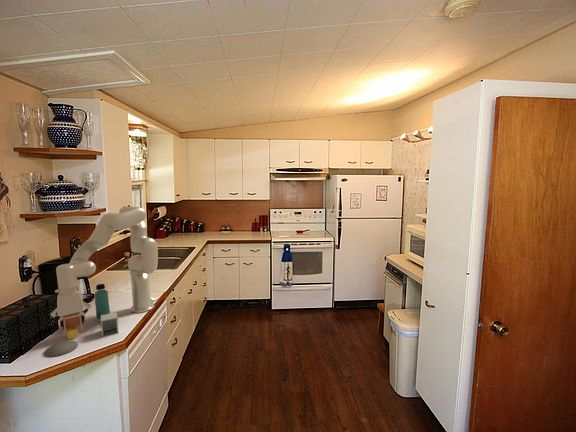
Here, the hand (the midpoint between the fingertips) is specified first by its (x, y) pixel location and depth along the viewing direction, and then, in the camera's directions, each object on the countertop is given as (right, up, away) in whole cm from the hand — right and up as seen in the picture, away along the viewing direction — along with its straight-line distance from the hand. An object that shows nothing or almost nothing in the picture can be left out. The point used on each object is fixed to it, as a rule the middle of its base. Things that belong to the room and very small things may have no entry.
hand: (73, 324), depth 153 cm
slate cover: (+16, -5, +4) cm, 17 cm away
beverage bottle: (+5, -4, +16) cm, 18 cm away
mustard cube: (0, -6, 0) cm, 6 cm away
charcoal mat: (+3, -7, -11) cm, 14 cm away
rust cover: (0, -2, 0) cm, 2 cm away
